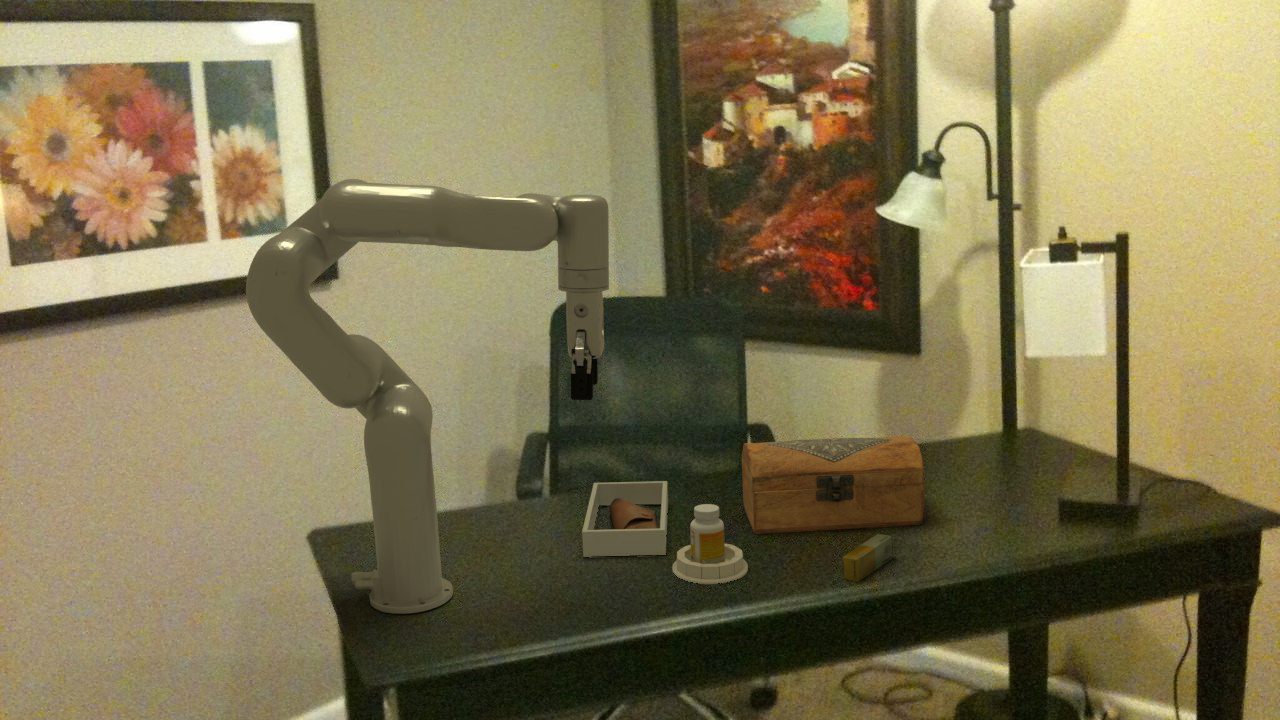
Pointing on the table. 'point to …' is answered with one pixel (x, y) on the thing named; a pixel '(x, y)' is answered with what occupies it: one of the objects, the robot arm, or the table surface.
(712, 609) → the table surface
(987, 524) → the table surface
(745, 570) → the coaster tray
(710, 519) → the supplement bottle
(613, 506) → the sunglasses case
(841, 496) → the wooden box
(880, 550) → the medication box
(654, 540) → the frame
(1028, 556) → the table surface
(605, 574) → the table surface
